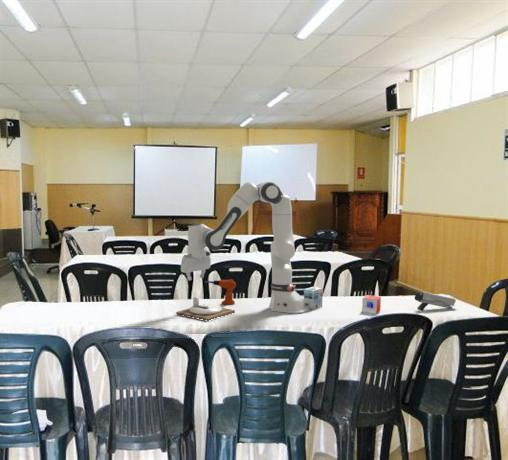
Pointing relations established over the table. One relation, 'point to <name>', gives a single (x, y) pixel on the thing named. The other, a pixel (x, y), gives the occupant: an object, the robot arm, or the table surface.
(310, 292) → the light bulb box
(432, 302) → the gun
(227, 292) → the toy drill
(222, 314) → the cardboard mat
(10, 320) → the table surface
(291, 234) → the robot arm
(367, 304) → the puzzle cube
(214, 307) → the dial
